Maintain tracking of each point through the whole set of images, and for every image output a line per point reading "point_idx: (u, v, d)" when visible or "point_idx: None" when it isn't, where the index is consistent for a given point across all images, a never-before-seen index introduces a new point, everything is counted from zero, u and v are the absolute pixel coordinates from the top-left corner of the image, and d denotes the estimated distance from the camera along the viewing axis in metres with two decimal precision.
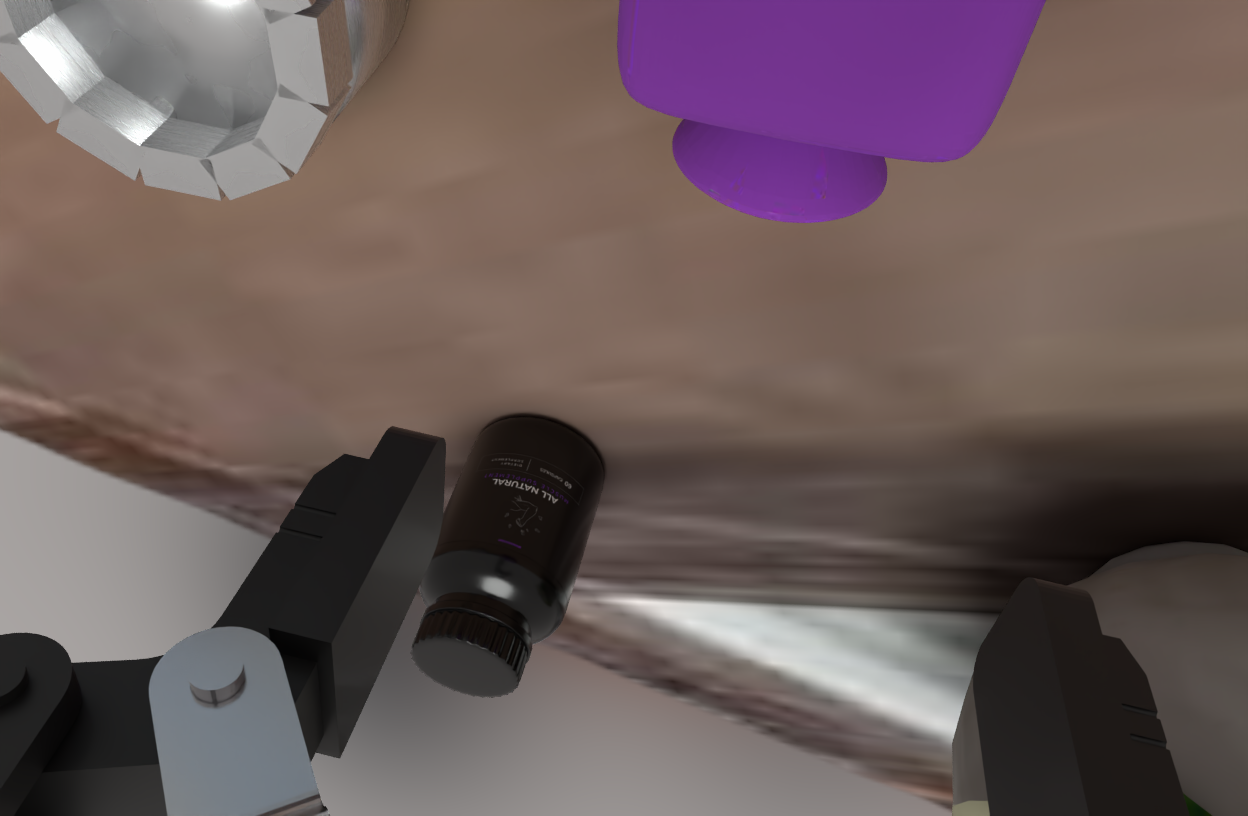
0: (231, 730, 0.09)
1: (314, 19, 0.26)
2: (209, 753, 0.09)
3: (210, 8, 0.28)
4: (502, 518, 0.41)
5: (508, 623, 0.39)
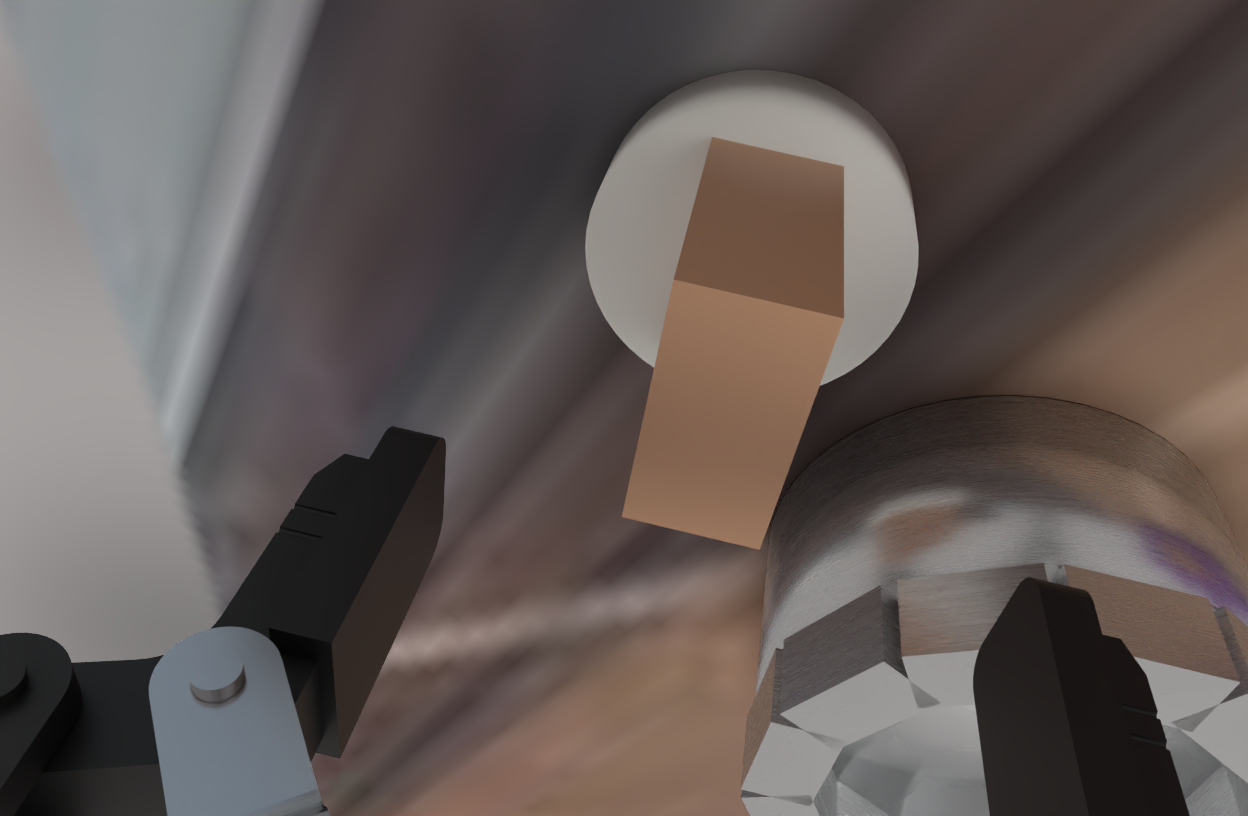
0: (232, 730, 0.09)
1: None
2: (209, 753, 0.09)
3: None
4: None
5: None
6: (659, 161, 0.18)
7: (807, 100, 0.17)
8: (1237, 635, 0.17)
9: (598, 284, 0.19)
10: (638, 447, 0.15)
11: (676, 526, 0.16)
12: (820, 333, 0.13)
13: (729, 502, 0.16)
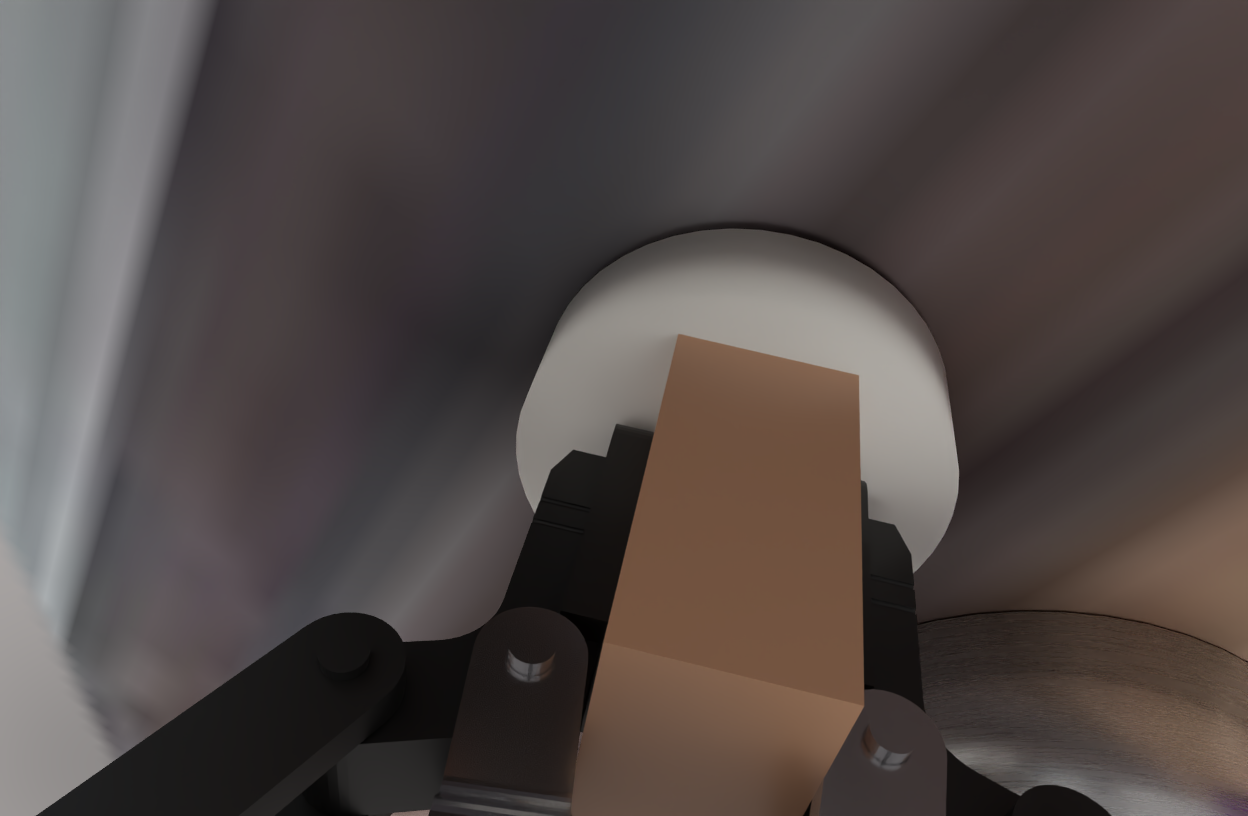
0: (524, 705, 0.09)
1: None
2: (544, 724, 0.09)
3: None
4: None
5: None
6: (608, 359, 0.13)
7: (808, 284, 0.12)
8: None
9: (536, 494, 0.15)
10: None
11: None
12: (826, 719, 0.09)
13: None
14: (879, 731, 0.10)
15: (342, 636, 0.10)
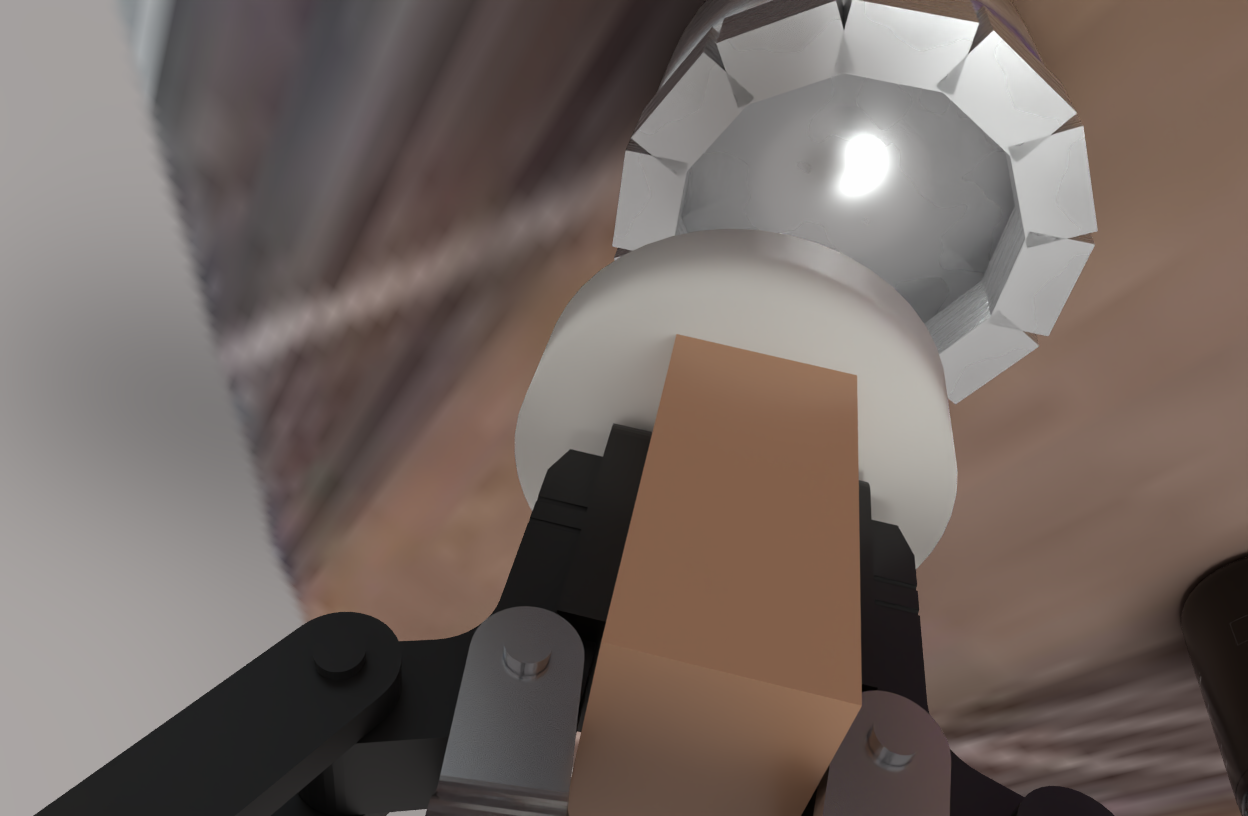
0: (520, 704, 0.09)
1: (1080, 128, 0.20)
2: (540, 723, 0.09)
3: (891, 196, 0.24)
4: None
5: None
6: (607, 360, 0.13)
7: (807, 284, 0.12)
8: (989, 15, 0.20)
9: (534, 494, 0.15)
10: None
11: None
12: (825, 718, 0.09)
13: None
14: (883, 732, 0.10)
15: (337, 636, 0.10)
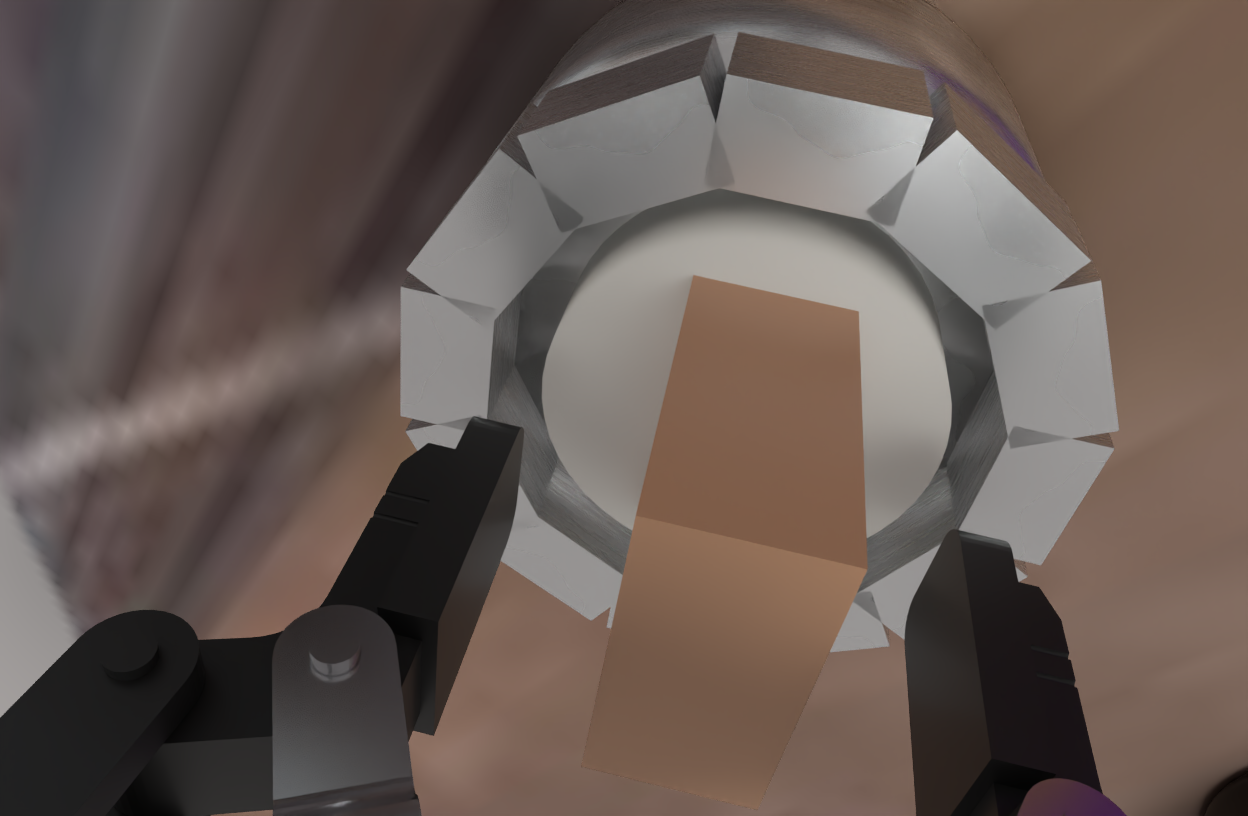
0: (340, 705, 0.09)
1: (1096, 284, 0.13)
2: (336, 724, 0.09)
3: None
4: None
5: None
6: (629, 301, 0.14)
7: (812, 229, 0.14)
8: (952, 101, 0.13)
9: (559, 437, 0.16)
10: (598, 696, 0.12)
11: (651, 780, 0.13)
12: (835, 585, 0.10)
13: (717, 759, 0.12)
14: None
15: (123, 637, 0.09)
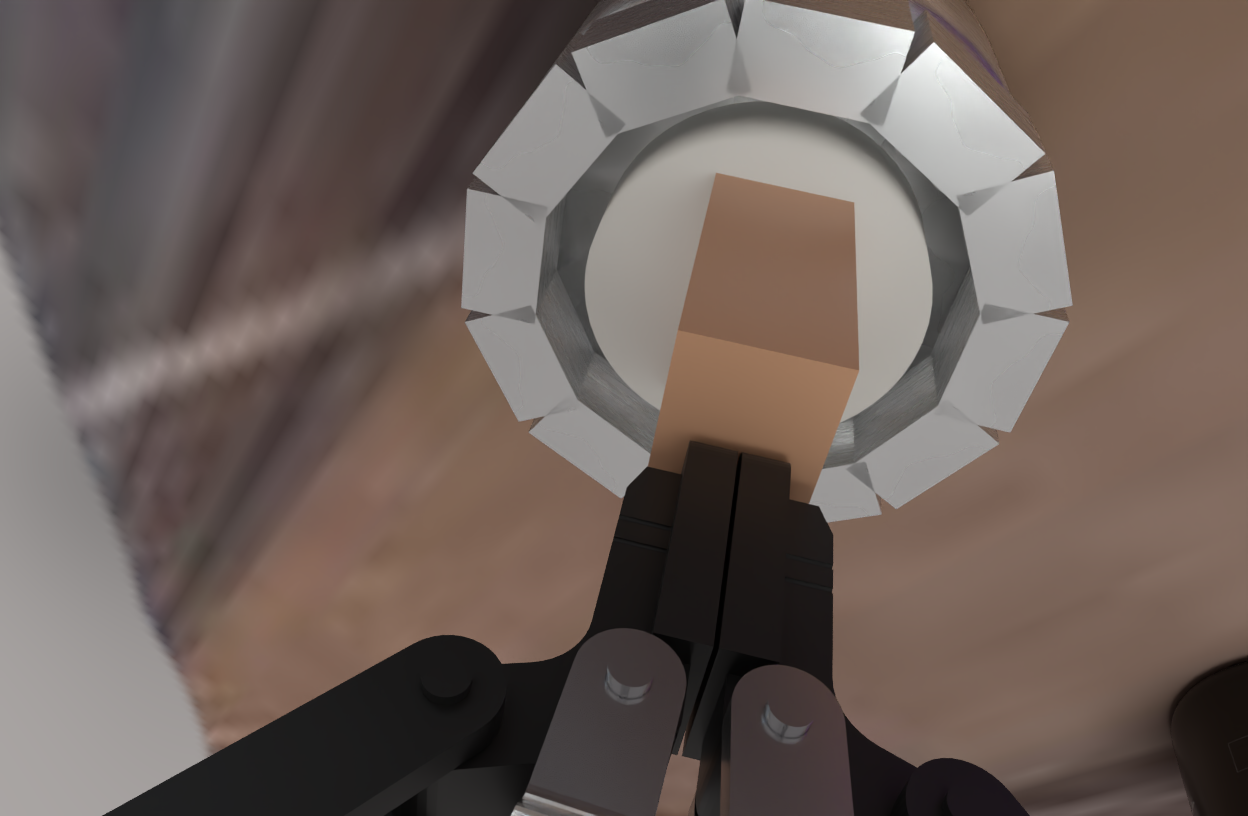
0: (615, 726, 0.09)
1: (1050, 174, 0.15)
2: (649, 749, 0.09)
3: None
4: None
5: None
6: (661, 197, 0.17)
7: (815, 134, 0.16)
8: (931, 23, 0.15)
9: (598, 323, 0.19)
10: None
11: None
12: (834, 385, 0.13)
13: None
14: (778, 707, 0.10)
15: (447, 660, 0.10)
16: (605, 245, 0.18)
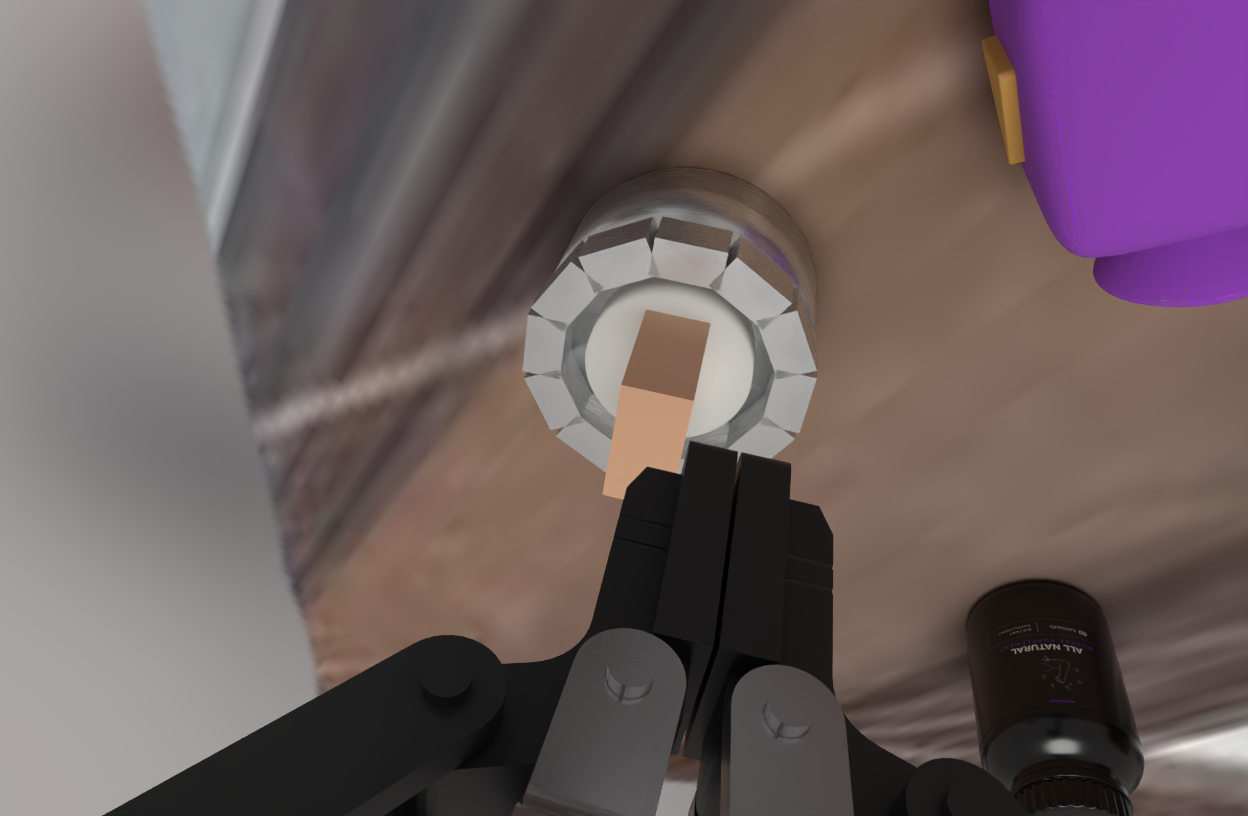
0: (616, 726, 0.09)
1: (795, 312, 0.34)
2: (649, 749, 0.09)
3: None
4: (1041, 681, 0.43)
5: (1101, 778, 0.40)
6: (621, 320, 0.35)
7: (692, 291, 0.35)
8: (741, 244, 0.34)
9: (592, 379, 0.37)
10: (609, 459, 0.33)
11: None
12: (684, 407, 0.31)
13: None
14: (778, 707, 0.10)
15: (447, 660, 0.10)
16: (594, 341, 0.36)
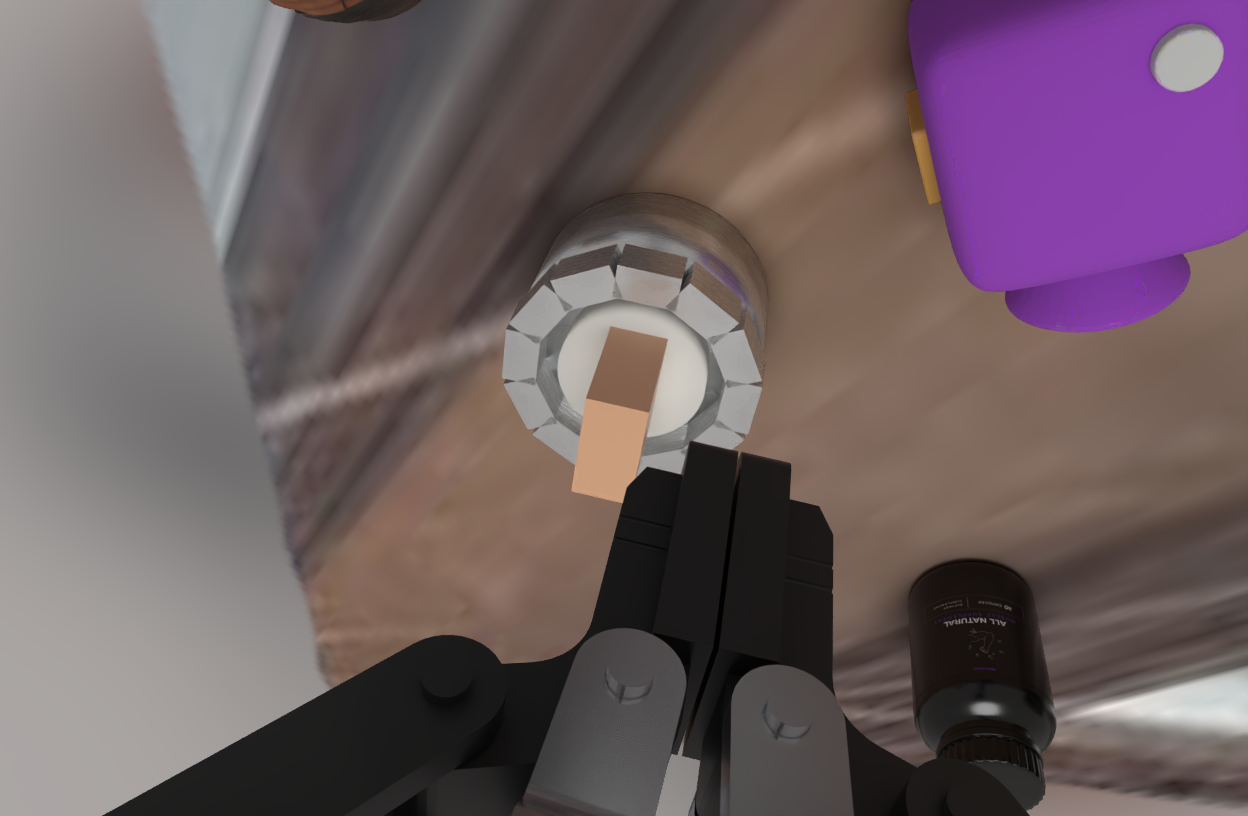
0: (616, 726, 0.09)
1: (742, 330, 0.38)
2: (649, 749, 0.09)
3: None
4: (967, 651, 0.48)
5: (1015, 736, 0.45)
6: (589, 335, 0.40)
7: (652, 310, 0.39)
8: (695, 269, 0.38)
9: (564, 385, 0.41)
10: (576, 461, 0.37)
11: (594, 495, 0.38)
12: (641, 417, 0.35)
13: (615, 484, 0.38)
14: (778, 707, 0.10)
15: (447, 660, 0.10)
16: (566, 353, 0.40)
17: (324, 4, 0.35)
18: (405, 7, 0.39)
